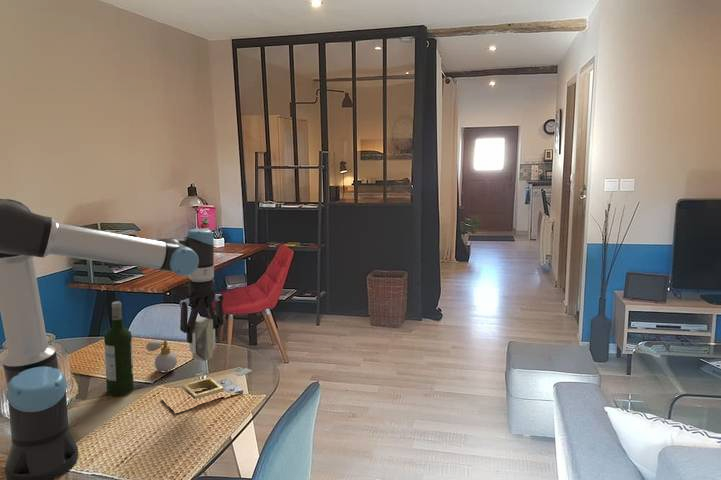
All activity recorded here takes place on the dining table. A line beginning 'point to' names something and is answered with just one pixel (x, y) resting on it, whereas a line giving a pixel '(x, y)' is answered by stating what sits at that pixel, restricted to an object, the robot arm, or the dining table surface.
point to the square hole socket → (211, 387)
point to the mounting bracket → (241, 371)
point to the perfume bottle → (162, 356)
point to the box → (203, 339)
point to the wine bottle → (118, 355)
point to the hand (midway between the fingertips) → (202, 349)
